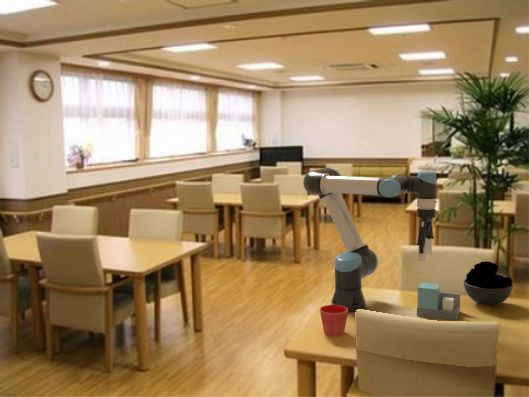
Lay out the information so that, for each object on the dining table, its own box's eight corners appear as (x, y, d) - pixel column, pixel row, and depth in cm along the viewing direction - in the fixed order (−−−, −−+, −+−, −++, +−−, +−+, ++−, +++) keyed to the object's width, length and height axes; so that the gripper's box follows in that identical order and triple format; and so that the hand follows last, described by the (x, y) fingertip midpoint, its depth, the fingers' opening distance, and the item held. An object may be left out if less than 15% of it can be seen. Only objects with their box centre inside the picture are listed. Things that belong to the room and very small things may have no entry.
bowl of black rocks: (503, 297, 249) (504, 257, 246) (519, 312, 229) (520, 269, 227) (458, 297, 251) (458, 257, 248) (470, 312, 231) (471, 269, 229)
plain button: (442, 311, 227) (442, 300, 226) (443, 308, 231) (444, 297, 230) (452, 312, 225) (452, 301, 225) (453, 309, 229) (453, 298, 228)
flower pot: (329, 325, 220) (329, 302, 219) (353, 331, 213) (353, 307, 212) (314, 333, 212) (314, 309, 211) (339, 340, 205) (338, 315, 204)
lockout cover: (417, 308, 229) (417, 287, 228) (420, 302, 236) (421, 282, 235) (437, 310, 226) (437, 289, 225) (440, 304, 233) (440, 284, 232)
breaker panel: (416, 315, 229) (416, 297, 228) (421, 307, 239) (421, 289, 238) (456, 320, 222) (457, 301, 221) (459, 311, 232) (460, 293, 231)
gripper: (429, 213, 218) (428, 264, 220) (440, 204, 239) (439, 251, 242) (410, 211, 221) (409, 262, 224) (423, 203, 243) (422, 249, 246)
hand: (425, 257), depth 233 cm, fingers open, 13 cm apart
